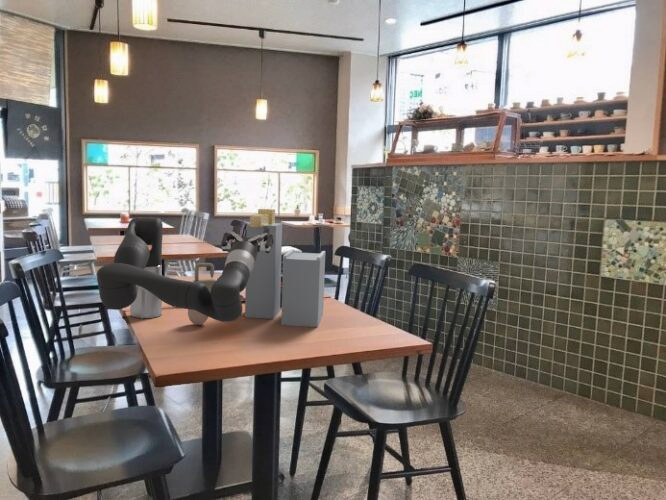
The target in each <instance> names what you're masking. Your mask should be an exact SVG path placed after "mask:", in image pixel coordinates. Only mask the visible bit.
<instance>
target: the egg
mask: <svg viewBox="0 0 666 500" xmlns="http://www.w3.org/2000/svg"><path fill="white" fill-rule="evenodd" d="M187 316H188V319H189V321H190V322H191V323H192V324H193V325H195V326H201V325H203V324H205V323H206V322H207V320H208V319H209V317H208V316H206V315H203V314H201V313H199V312H198V311H196V310H189V309H187Z"/></svg>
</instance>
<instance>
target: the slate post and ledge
mask: <svg viewBox="0 0 666 500" xmlns="http://www.w3.org/2000/svg"><path fill="white" fill-rule="evenodd" d="M265 227H268V228H269V232H270V234H272V235H273V241H274V243H273V245H272V248H271V250H270V253H266V252H265V251H263V250H260V251H259V252H258V254H257V257H256V260H255V264H254V268H253V270H252V272H251V274H250V276H249V279H248V282H247V285H246V287H245V289H244V291H245V299H244V301H245V304H244V306H245V307H244V318H251V319H269V320H272V319H273V320H274V319H275V318H276V316H278V314H279V313H280V312H281V323H280V324H281V326H291V327H292V326H293V327H307V328H308V327H309V328H311V327H312V328H318V327H319V325H320V323H321V320H322V318H323V316H324V302H325V299H324V297H325V274H326V273H325V271H326V270H325V268H326V250H322V251H321V252H320V253H319V252H318V253H314V252H313V253H312V252H297V251H296V250H295V249H291V250H289V251H288V252H287V253H285V254H284V255H283V256H282V247H283V246H282V245H283V244H282V242H283V241H282V240H283V223H281V222H279V223H277V222H275V224H269V225H266V226H263V227H250V223H248V224H246V237H247V238H250V237H252V238H254V237H255V236H257V235H262V234H263V231H264V228H265ZM270 234H269V235H270ZM262 240H263V239H262ZM257 242H258V240H257ZM295 251H296V252H295ZM282 275H283V283H282V306H280V288H281V276H282Z"/></svg>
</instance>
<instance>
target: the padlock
mask: <svg viewBox="0 0 666 500" xmlns="http://www.w3.org/2000/svg"><path fill="white" fill-rule="evenodd" d="M205 267H208V268H210V269H209V270H210V271H209V275H210V277H211V279H208V278H207V279H206V278H205V279H199V275H200V274H199V273H200V272H199V268H205ZM214 275H215V265H214V264H213V263H211V262H201V263H196V265H195V267H194V280H192V282H198V283H202V284H204V285H206V287H207V288H208V290H209V291H210V293H211V288H212V285H213V284H214V282H215V281H216V280H217V279H213V278H214Z"/></svg>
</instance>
